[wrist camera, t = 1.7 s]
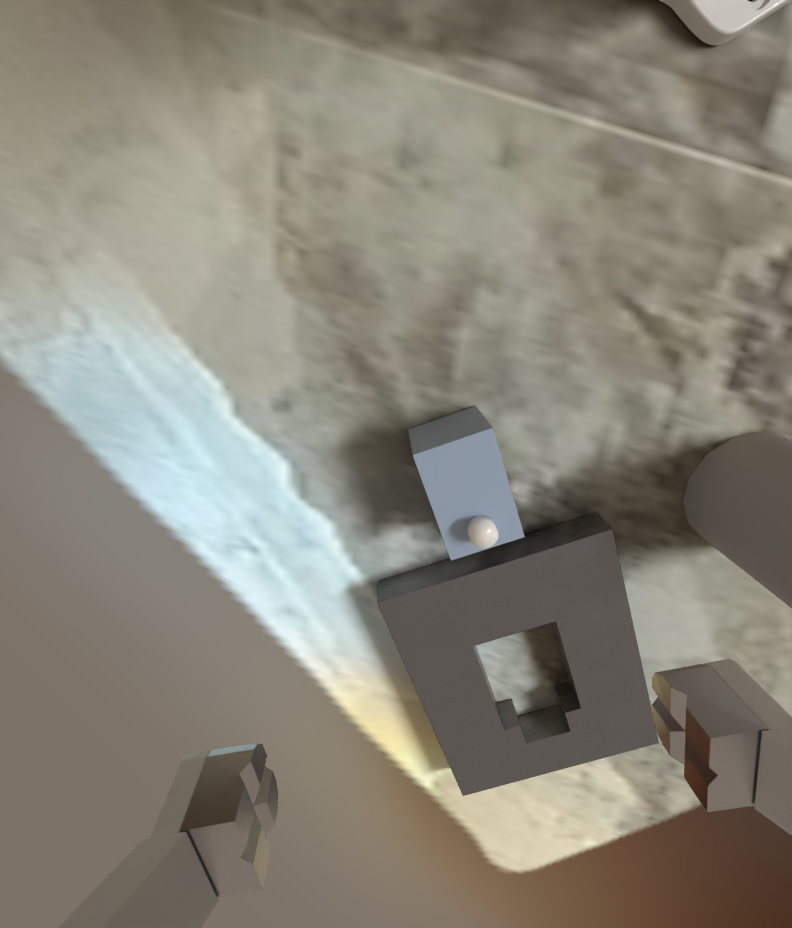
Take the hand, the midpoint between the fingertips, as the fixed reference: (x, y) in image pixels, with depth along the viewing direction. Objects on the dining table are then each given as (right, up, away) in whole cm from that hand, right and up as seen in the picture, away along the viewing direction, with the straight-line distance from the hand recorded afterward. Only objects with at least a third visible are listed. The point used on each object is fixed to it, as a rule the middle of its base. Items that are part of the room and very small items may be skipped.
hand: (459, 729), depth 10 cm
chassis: (+8, -9, +27) cm, 30 cm away
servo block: (+3, +5, +22) cm, 22 cm away
